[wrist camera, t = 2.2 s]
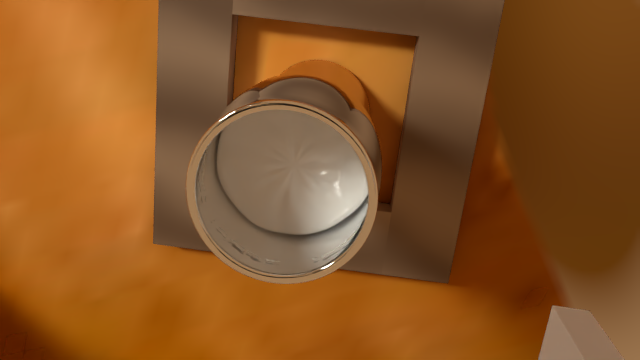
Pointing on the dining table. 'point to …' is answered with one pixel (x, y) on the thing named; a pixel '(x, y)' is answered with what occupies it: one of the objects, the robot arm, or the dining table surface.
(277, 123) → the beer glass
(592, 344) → the robot arm
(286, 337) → the dining table surface
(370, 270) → the pocket frame
